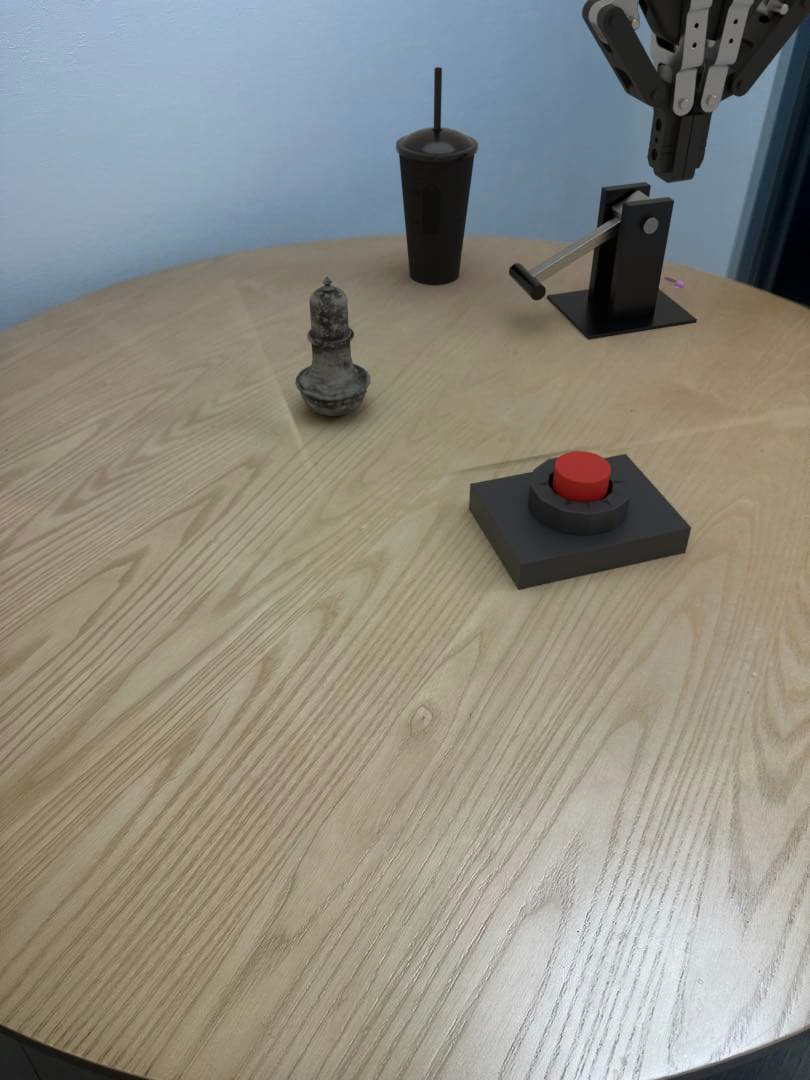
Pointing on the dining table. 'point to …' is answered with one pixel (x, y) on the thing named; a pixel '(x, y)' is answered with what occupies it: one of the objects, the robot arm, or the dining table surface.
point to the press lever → (569, 253)
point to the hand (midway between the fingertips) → (672, 176)
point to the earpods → (678, 283)
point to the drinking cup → (435, 195)
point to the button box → (575, 524)
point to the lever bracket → (626, 271)
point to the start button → (581, 476)
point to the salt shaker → (331, 357)
